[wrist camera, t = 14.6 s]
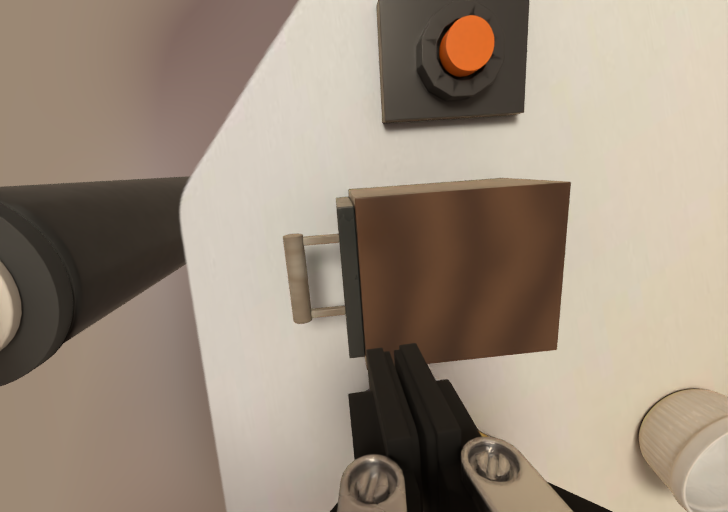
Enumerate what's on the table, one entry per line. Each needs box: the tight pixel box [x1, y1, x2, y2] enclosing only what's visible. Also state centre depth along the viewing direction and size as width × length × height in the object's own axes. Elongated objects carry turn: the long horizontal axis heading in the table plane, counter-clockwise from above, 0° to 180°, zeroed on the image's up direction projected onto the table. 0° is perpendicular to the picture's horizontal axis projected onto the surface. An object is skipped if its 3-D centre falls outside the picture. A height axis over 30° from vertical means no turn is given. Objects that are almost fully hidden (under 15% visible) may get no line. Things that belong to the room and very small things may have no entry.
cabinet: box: [348, 178, 571, 370], centre depth 29 cm, size 15×13×10 cm
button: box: [439, 15, 494, 77], centre depth 26 cm, size 4×4×2 cm
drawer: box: [283, 197, 365, 358], centre depth 28 cm, size 18×11×8 cm, turn 94°
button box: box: [377, 0, 529, 123], centre depth 28 cm, size 12×9×4 cm
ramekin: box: [639, 389, 728, 512], centre depth 38 cm, size 13×13×7 cm
